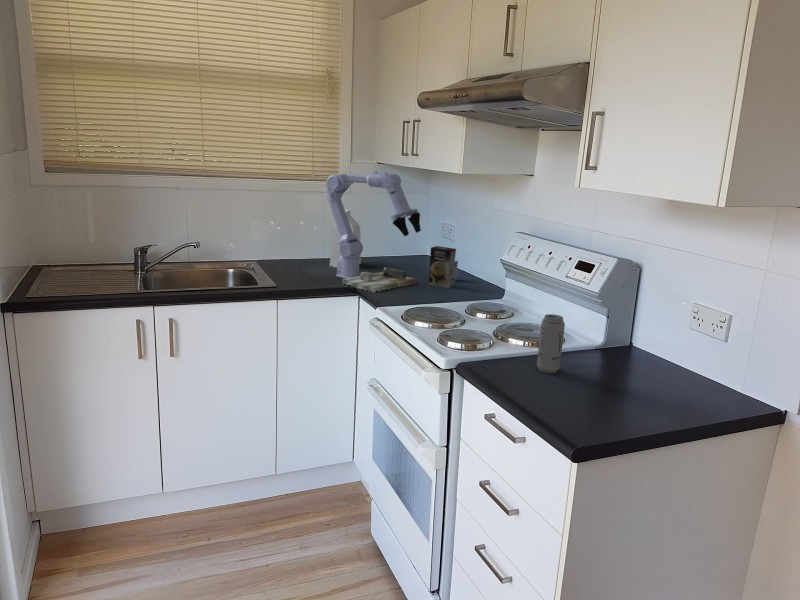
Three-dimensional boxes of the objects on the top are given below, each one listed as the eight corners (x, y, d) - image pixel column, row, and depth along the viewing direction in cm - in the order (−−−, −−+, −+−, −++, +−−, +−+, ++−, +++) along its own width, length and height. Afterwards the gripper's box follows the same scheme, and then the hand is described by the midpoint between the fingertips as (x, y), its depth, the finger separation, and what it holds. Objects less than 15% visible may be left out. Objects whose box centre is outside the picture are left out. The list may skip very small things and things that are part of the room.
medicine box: (437, 280, 265) (438, 260, 263) (439, 278, 269) (440, 258, 267) (455, 281, 263) (456, 262, 261) (456, 279, 268) (458, 260, 265)
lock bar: (381, 274, 258) (382, 267, 257) (386, 273, 260) (387, 266, 260) (402, 279, 251) (402, 272, 250) (407, 278, 253) (407, 271, 252)
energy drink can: (555, 375, 160) (562, 321, 156) (533, 370, 162) (539, 317, 159) (561, 369, 165) (568, 316, 161) (540, 364, 168) (545, 312, 164)
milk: (353, 268, 279) (354, 212, 273) (329, 266, 282) (330, 210, 275) (360, 264, 291) (362, 210, 284) (338, 262, 293) (339, 208, 287)
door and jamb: (342, 284, 249) (342, 272, 248) (384, 276, 268) (384, 264, 267) (373, 292, 238) (374, 280, 237) (415, 283, 256) (415, 272, 255)
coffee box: (427, 285, 254) (430, 247, 250) (434, 282, 260) (436, 245, 256) (447, 288, 250) (450, 250, 246) (453, 285, 256) (456, 248, 252)
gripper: (394, 201, 236) (407, 233, 236) (418, 195, 246) (430, 226, 246) (383, 208, 241) (396, 239, 241) (406, 202, 251) (418, 232, 251)
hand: (412, 233), depth 244 cm, fingers open, 7 cm apart
